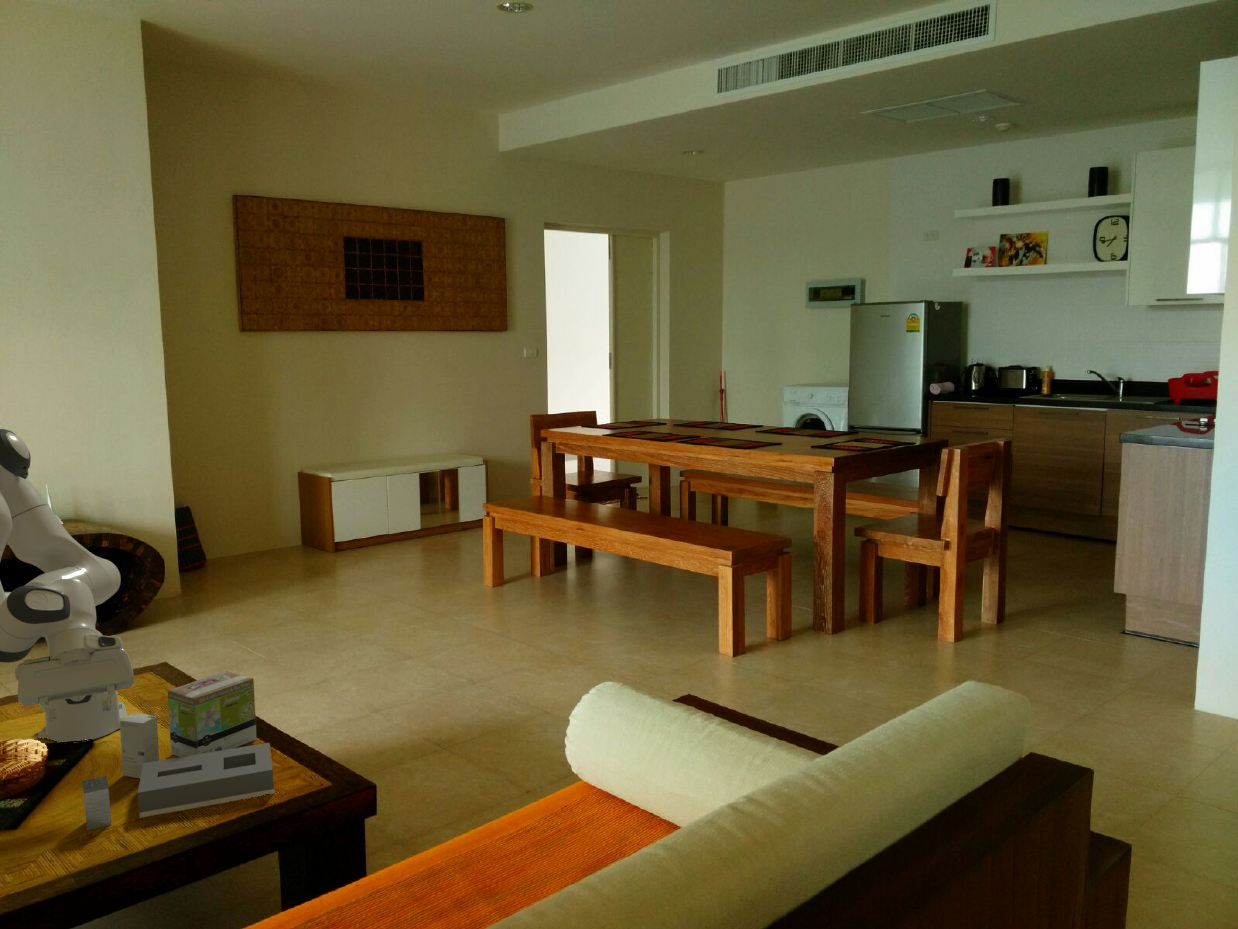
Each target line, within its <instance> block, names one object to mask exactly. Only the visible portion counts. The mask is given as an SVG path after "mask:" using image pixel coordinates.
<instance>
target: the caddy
mask: <svg viewBox="0 0 1238 929" xmlns="http://www.w3.org/2000/svg"><path fill="white" fill-rule="evenodd" d="M273 768H274V767H273V762H272V752H271V744H270V742H266V743H260V744H254V745H253V744H252V745H246V746H238V747H236V748H233V749H227V750H221V751H215V752H209V753H202V754H196V755H190V756H184V757H179V756H177V757H173V758H167V759H159V761H153V762H147V763H143V767H142V773H141V778H139V784H138V790H137V798H138V799H137V801H138V809H139V810H138V812H139V818H140V819H142V818H146V817H152V816H153V817H154V816H156V815H157V816H158V815H163V814H169V813H173V812H179V811H185V810H191V809H197V808H202V807H203V808H204V807H208V806H213V805H219V804H225V803H230V801H231V802H236V801H241V799H242V800H247V799H252V798H251V797H253V798H257V797H258V796H259V797H263V795H264V796H266V795H265V794H270V795H275V785H274V783H275V782H274V771H273V770H274V769H273Z"/></svg>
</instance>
